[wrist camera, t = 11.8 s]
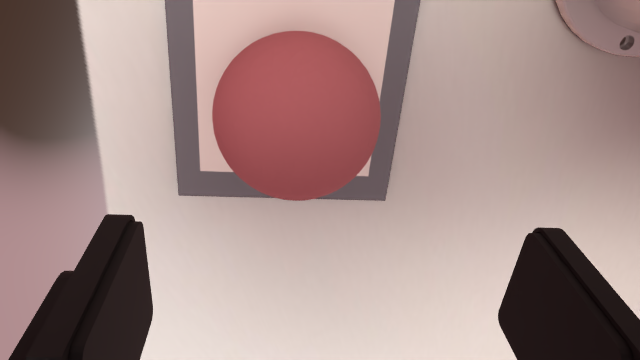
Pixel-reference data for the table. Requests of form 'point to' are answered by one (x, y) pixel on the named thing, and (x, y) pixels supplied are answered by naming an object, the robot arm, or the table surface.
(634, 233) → the table surface
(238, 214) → the table surface
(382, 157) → the gray rectangular picture frame
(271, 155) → the light bulb
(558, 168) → the table surface
